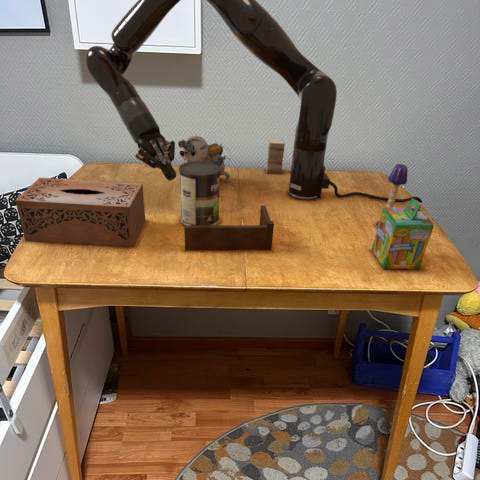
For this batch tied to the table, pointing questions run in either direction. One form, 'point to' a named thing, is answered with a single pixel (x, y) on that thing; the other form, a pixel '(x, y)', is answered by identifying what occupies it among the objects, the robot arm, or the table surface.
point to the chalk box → (402, 237)
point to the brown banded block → (275, 156)
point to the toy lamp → (396, 183)
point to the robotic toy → (203, 153)
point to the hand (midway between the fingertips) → (172, 178)
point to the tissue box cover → (82, 212)
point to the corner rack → (231, 235)
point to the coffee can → (199, 193)
